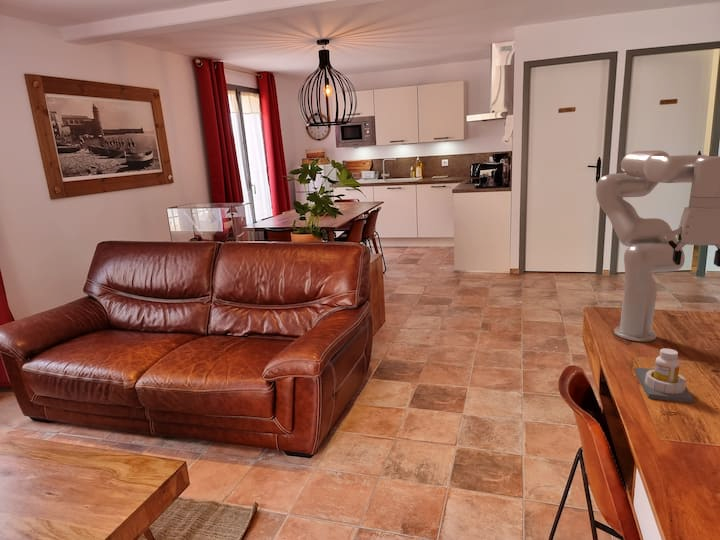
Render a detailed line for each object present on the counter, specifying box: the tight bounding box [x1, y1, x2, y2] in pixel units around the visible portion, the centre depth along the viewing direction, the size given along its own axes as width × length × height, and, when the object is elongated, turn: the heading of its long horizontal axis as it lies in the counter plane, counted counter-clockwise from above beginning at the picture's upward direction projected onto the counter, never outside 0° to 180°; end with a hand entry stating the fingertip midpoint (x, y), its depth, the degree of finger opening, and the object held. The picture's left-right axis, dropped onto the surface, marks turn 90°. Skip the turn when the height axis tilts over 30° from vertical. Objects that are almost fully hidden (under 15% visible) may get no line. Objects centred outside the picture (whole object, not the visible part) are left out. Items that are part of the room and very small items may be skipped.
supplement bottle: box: [653, 347, 681, 383], centre depth 127 cm, size 5×5×10 cm
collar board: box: [634, 367, 695, 404], centre depth 130 cm, size 16×10×4 cm, turn 162°
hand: (696, 264), depth 135 cm, fingers open, 9 cm apart
